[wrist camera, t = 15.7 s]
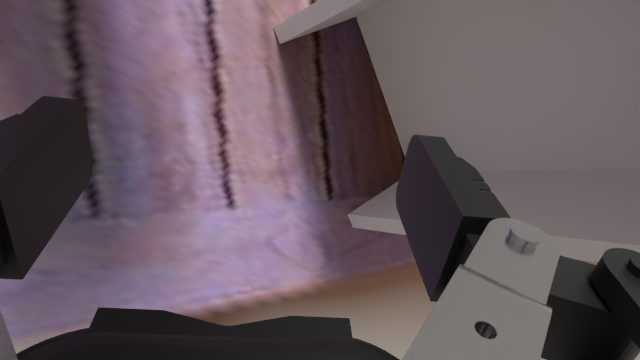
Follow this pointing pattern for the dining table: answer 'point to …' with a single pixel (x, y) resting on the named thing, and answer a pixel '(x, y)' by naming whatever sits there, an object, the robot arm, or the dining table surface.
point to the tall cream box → (513, 104)
